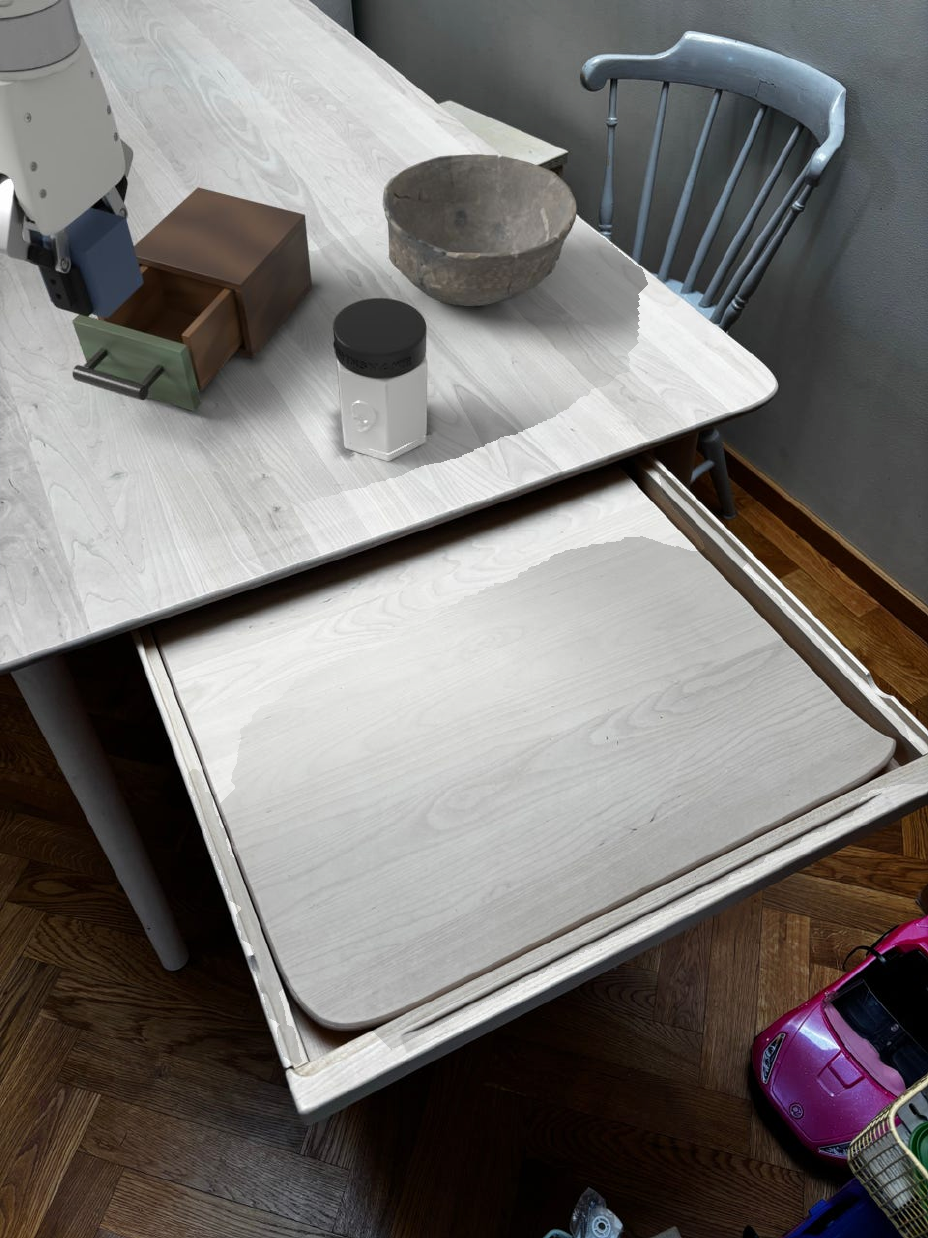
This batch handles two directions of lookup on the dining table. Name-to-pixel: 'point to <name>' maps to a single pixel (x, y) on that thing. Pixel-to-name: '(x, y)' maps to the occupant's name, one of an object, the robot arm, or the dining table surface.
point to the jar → (381, 376)
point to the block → (103, 259)
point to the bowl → (477, 226)
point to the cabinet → (236, 256)
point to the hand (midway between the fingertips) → (96, 287)
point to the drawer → (161, 339)
